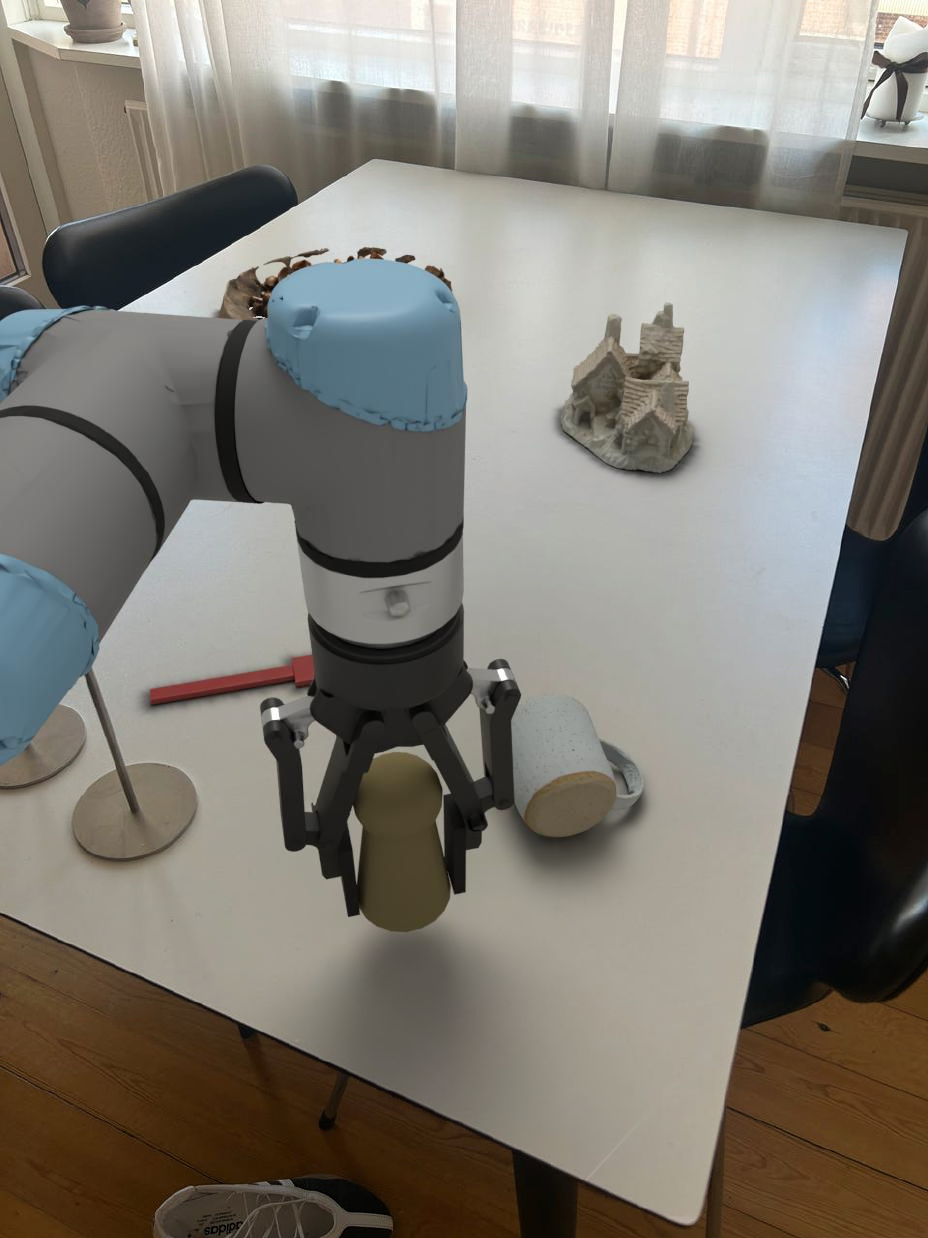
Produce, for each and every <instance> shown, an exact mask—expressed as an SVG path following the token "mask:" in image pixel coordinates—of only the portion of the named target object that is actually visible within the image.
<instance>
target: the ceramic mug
mask: <svg viewBox="0 0 928 1238" xmlns="http://www.w3.org/2000/svg"><path fill="white" fill-rule="evenodd" d="M511 728H512V752H513V776H514V800H515V801H514V804H515V807H516V809H517V811H518V813H519V815H520V817H521V818H522V820H523V821H524V823H525V824H526V826H527V827H528V828H529V829H530V830H532V831H533V832H534V833H536V834H538V835H541V836H544V837H548V838H566V837H572V836H575V835H578V834H580V833H583V832H586V831H588V830H590V829H591V828H593V827H595V826H597V825H598V824H599V823H600V822H601V821H603V820H604V818H606V816H607V815H608V814H609V813H610V812H611V811H621V810H626V809H629V808H631V807H632V806H633V805H634V804H635V803H636V802H637V801H638V799H639V798H640V796H641V795H642V794H643V790H644V787H645V781H644V775H643V773H642V770H641V768H640V766H639V764H637V762H636V761H635V760H634V758H633V757H632V756H631V755H630V754H629V753H628V752H626V751H625V750H624V749H623V748H621V747H620V746H618V745H617V744H614V743H612V742H610V741H608V740H606V739H604V738H602V737H601V738H600V737H599V735H598V733H597V731H596V729H595V725H594V722H593V721H592V717H591V715H590V713H589V711H588V709H587V708H586V706H585V705H584V704H583V703H582V702H581V701H579V700H578V699H576V698H574V697H573V696H569V695H566V694H560V693H549V694H541V695H537V696H534V697H530V698H528V699H526V700H523V701H521V702H519V703H518V706H517V708H516V710H515V713H514V715H513V717H512V720H511ZM610 763H611V764H612V765H614V767H616V768H618V769H619V771H620V772H621V773H622V775H623V776H624V779H625V781H626V785H627V791H628V793H629V794H617V785H616V779H615V776H614V772H613V768H612V767H611V764H610Z"/></svg>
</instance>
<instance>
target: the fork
mask: <svg viewBox="0 0 928 1238" xmlns="http://www.w3.org/2000/svg"><path fill="white" fill-rule="evenodd" d="M314 675H315V672H314V665H313V657H312V654H306V655H300V656H294V657H291V664H289V665H283V666H277V667H272V668H266V669H265V668H264V669H260V670H253V671H248V672H242V673H235V674H229V675H225V676H218V677H213V678H207V679H200V680H194V681H189V682H184V683H178V684H172V685H166V686H160V687H154V688H153V687H152V688H149V701H150V705H158V704H165V703H171V702H177V701H181V700H187V699H193V698H200V697H205V696H210V695H216V694H223V693H228V692H233V691H234V692H235V691H239V690H245V689H250V688H251V689H252V688H256V687H257V688H258V687H262V686H263V687H264V686H268V685H274V684H279V683H280V684H281V683H286V682H291V681H292V682H293V681H294V683H295V687H296V688H299V687H305V686H310V684H311V683H312V681H313V679H314Z"/></svg>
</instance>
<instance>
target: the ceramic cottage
mask: <svg viewBox="0 0 928 1238" xmlns="http://www.w3.org/2000/svg"><path fill="white" fill-rule="evenodd" d="M622 321H623V318H622V317H621V316H620V315H619V314H618V313H609V314H608V315H607V318H606V325H605V332H604V336H603V339H602V340H600V342H599V343H598V345H597V346H596V347H595V349H594V350H593V351H592V352H590V353H589V354H588V355H587V356H586V358H585V359H584V360H583V361H580V362H579V364H578V365H575V366H574V367H573V373H572V374H573V375H572V380H571V384H570V387H571V389H572V393H570V394H569V397H568V398H567V399H566V400H564V405H563V406H562V412H561V416H560V418H559V419H560V424H561V428H562V430H563V432H565V433H566V434H568V435H569V436H571V437H572V438H573V439H574V440H575V441H577V442H578V443H579V444H581V445H583V446H584V448H587V449H588V450H589V451H590V452H592V453H593V455H595V456H597V458H598V459H600V460H601V461H602V462H604V463H605V464H607V465H609V466H612V467H614V468H616V469H620V470H621V469H623V470H624V469H625V470H626V471H629V470H630V471H632V470H634V471H636V470H641V471H644V472H652V473H658V474H662V472H663V473H665V472H668V471H670V470H672V469H673V468H675V465H678V464H679V462H680V461H682V459H683V457H684V456H685V455H686V454H687V453H688V452H689V451H690V448H691V447H692V444H693V433H694V432H693V431H694V430H693V429H694V428H693V426H692V425H691V423H690V422H689V421H688V420H689V415H690V411H689V409H688V395H689V390H690V389H689V385H690V380H683V376H681V375H680V374H679V373H680V372H681V361H682V358H681V357H682V354H683V350H684V349H683V348H684V336H685V327H681V326H679V327H675V326H674V305H673V303H671V302H669V301H665V303H664V305H663V310H658V311H657V312H656V315H655V316H654V318H653V321H652V322H651V323H648V322H642V323H641V326H640V338H639V340H640V341H639V351H638V353H630V352H626V351H625V349H624V347H622V346H621V345H620V344H621V335H622V334H621V332H622Z"/></svg>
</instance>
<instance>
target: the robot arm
mask: <svg viewBox="0 0 928 1238" xmlns="http://www.w3.org/2000/svg"><path fill="white" fill-rule="evenodd" d="M344 262H345V263H344ZM344 262H342V263H334V261H324V262H320V263H315V264H311V266H308V267H305V268H302V269H300V270H297V271H295V272H293V273H292V274H290V275H289V276H287V277H286V278H284V279H282V280H281V281H280V282H279V283H278V284H277V285H276V286H275V288H274V289H273V291H272V293H271V295H270V298H269V302H268V307H267V311H268V318H264V319H261V320H258V321H257V320H246V319H245V320H237V319H223V318H218V317H208V316H195V315H181V314H178V315H177V314H166V313H164V314H163V313H155V312H153V313H152V312H138V311H136V312H135V311H126V310H125V311H123V310H115V309H112V308H111V309H110V308H108V307H106V306H101V305H95V306H93V307H91V306H89V305H79V306H73V307H69V308H52V309H51V308H47V309H45V308H44V309H42V308H41V309H24V310H21V311H16V312H14V313H12V314H9V315H7V316H5V317H4V318H3V319H1V320H0V768H1V767H3V766H4V765H7V764H8V763H9V762H12V760H14V759H15V758H17V756H19V755H20V754H21V753H23V751H24V750H25V749H27V747H28V746H29V745H30V743H32V741H33V740H34V738H35V737H36V735H37V734H38V733H39V731H41V729H42V727H43V726H44V725H45V723H46V722H47V720H48V719H49V717H50V716H51V715H52V713H53V712H54V711H55V709H56V708H57V707H58V706H59V704H60V703H61V702H62V700H63V699H64V697H65V696H67V693H68V692H69V691H71V690H72V689H73V687H74V686H75V685H76V684H77V682H78V681H79V680H80V678H81V677H84V676H85V675H87V674H88V673H89V672H90V670H91V669H92V667H93V665H94V663H95V661H96V660H97V657H98V654H99V651H100V644H101V642H102V641H103V639H104V637H105V636H106V634H107V632H108V631H109V629H110V628H111V626H112V624H113V623H114V622H115V620H116V618H117V616H118V615H119V613H120V612H121V610H122V608H123V607H124V605H125V604H126V602H127V601H128V599H129V597H130V596H131V594H132V592H133V591H134V589H135V587H136V586H137V584H138V583H139V581H140V580H141V578H142V576H143V575H144V574H145V572H146V571H147V569H148V568H149V566H150V565H151V563H152V561H153V560H154V559H155V558H156V556H158V554H159V552H160V551H161V549H162V547H163V546H164V544H165V543H166V542H167V540H168V538H169V536H170V535H171V534H172V532H173V530H174V529H175V527H176V525H177V524H178V522H179V521H180V519H181V517H182V516H183V514H184V513H185V511H186V510H187V508H188V507H189V505H190V503H191V501H209V502H210V501H213V502H228V503H243V504H255V505H256V504H257V505H262V504H264V503H269V504H284V505H285V504H286V505H290V508H291V510H292V514H293V518H294V521H293V522H294V527H295V536H296V543H297V550H298V551H297V552H298V557H299V558H298V559H299V566H300V572H301V579H302V589H303V597H304V601H305V605H306V610H307V624H308V625H307V626H308V634H309V641H310V649H311V655H312V657H313V665H314V672H315V675H314V679H313V681H312V683H311V684H310V685H308V688H307V694H306V695H305V696H303V697H300V698H298V699H295V700H293V701H290V702H287V703H284V702H283V700H282V699H280V698H278V697H266V698H265V699H263V700H262V701H261V702H260V705H259V711H260V718H261V719H260V720H261V727H262V728H261V729H262V735H263V741H264V744H265V746H266V747H267V748H268V750H269V751H270V753H271V754H272V756H273V757H274V759H275V761H276V773H277V774H276V775H277V786H278V787H277V788H278V798H279V799H278V800H279V812H280V819H281V820H280V821H281V829H282V835H283V844H284V849H285V850H287V851H288V852H292V853H295V852H299V851H302V850H304V849H305V848H306V847H307V846H312V847H314V848H316V849H317V851H318V858H319V865H320V870H321V871H320V872H321V875H322V877H323V878H324V879H325V880H331V879H337V878H340V880H341V887H342V892H343V897H344V903H345V908H346V915H347V917H348V918H352V917H356V916H360V915H361V910H360V909H359V901H358V892H357V875H356V868H355V858H354V857H355V856H354V851H353V850H354V849H353V844H352V840H351V834H350V830H349V825H348V820H349V818H350V815H351V811H352V809H353V803H354V800H355V798H356V795H357V792H358V789H359V786H360V783H361V780H362V777H363V774H364V773H368V771H369V769H370V766H371V763H372V760H373V759H374V758H375V755H376V754H381V753H384V752H387V751H390V750H393V749H395V748H414V747H418V746H424V748H425V750H426V752H427V754H428V755H429V757H430V760H431V761H433V762H434V765H435V766H436V768H437V770H438V772H439V773H440V775H441V778H442V780H443V781H444V783H445V785H446V787H447V789H448V790H449V792H450V793H446V794H443V796H442V807H443V854H444V858H445V863H446V867H447V871H448V875H449V880H450V884H451V890H452V892H453V896H455V895H460V894H464V893H466V892H467V851H470V850H475V849H479V848H480V846H481V845H482V842H483V837H482V836H483V832H484V831H485V830H487V828H488V826H489V823H488V819H487V817H486V812H488V811H489V810H491V809H493V808H495V809H496V810H498V811H505V810H508V809H510V808H511V807H513V805H514V804H515V802H514V801H515V800H514V776H513V752H512V728H511V720H512V717H513V715H514V713H515V710H516V708H517V706H518V704H519V703H520V701H521V698H522V692H521V690H520V688H519V685H518V683H517V680H516V677H515V675H514V673H513V671H512V669H511V667H510V666H511V665H510V664H509V661H508V660H506V659H505V658H496V659H494V660H492V661H491V662H490V663H489V664H488V666H487V668H474V667H473V668H472V667H469V666H468V663H467V662H466V661H465V658H464V657H465V654H464V653H465V652H464V651H465V649H464V648H465V609H464V603H463V600H464V599H463V598H464V593H465V581H464V579H465V576H464V575H465V573H464V571H465V570H464V569H465V568H464V527H465V523H464V522H465V516H464V515H465V472H466V471H465V470H466V467H465V466H466V429H467V427H466V426H467V403H468V391H469V390H468V386H467V383H466V381H465V377H464V359H463V341H462V340H463V337H462V320H461V319H462V318H461V310H460V306H459V302H458V301H457V299H456V297H455V295H454V293H453V290H452V291H451V290H450V289H449V288H448V287H447V285H446V284H445V283H444V282H443V281H441V280H440V279H439V278H437V277H436V276H435V275H433V274H431V273H429V272H427V271H426V270H425V269H423V268H421V267H419V266H415V265H413V264H409V263H407V264H406V263H401V262H397V261H395V260H389V259H384V260H383V259H370V258H365V259H357V258H355V259H354V260H352V261H350V262H347V261H344ZM470 695H472V696H473V698H474V701H475V704H476V706H477V707H478V710H479V723H480V724H479V725H480V737H481V750H482V764H483V765H482V766H483V777H480V778H478V779H476V780H474V778H473V777H472V775H471V773H470V770H469V769H468V766H467V764H466V762H465V760H464V759H463V756H462V755H461V752H460V750H459V749H458V747H457V744H456V742H455V740H454V738H453V736H452V734H451V732H450V730H449V728H448V726H447V723H448V722H449V720H451V718H452V717H453V716H454V715H455V713H456V712H457V711H458V710H459V708H460V707H462V705H463V704H464V703H465V702H466V700H467V699H468V698H469V696H470ZM314 722H317V723H318V724H319V725H320V726H322V727H324V728H325V729H327V730H328V731H329V732H330V733H332V734H334V735H335V740H334V743H333V747H332V751H331V754H330V756H329V760H328V762H327V766H326V770H325V772H324V776H323V779H322V782H321V785H320V789H319V792H318V795H317V799H316V802H315V804H314V802H311V803H310V806H311V807H310V808H311V811H306V810H305V809H306V808H305V793H304V791H305V789H304V776H303V775H304V774H303V763H302V756H301V749H302V748H304V747H305V741H306V740H307V739H308V737H309V735H310V734H309V733H310V732H309V727H310V725H311V724H312V723H314Z"/></svg>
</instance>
